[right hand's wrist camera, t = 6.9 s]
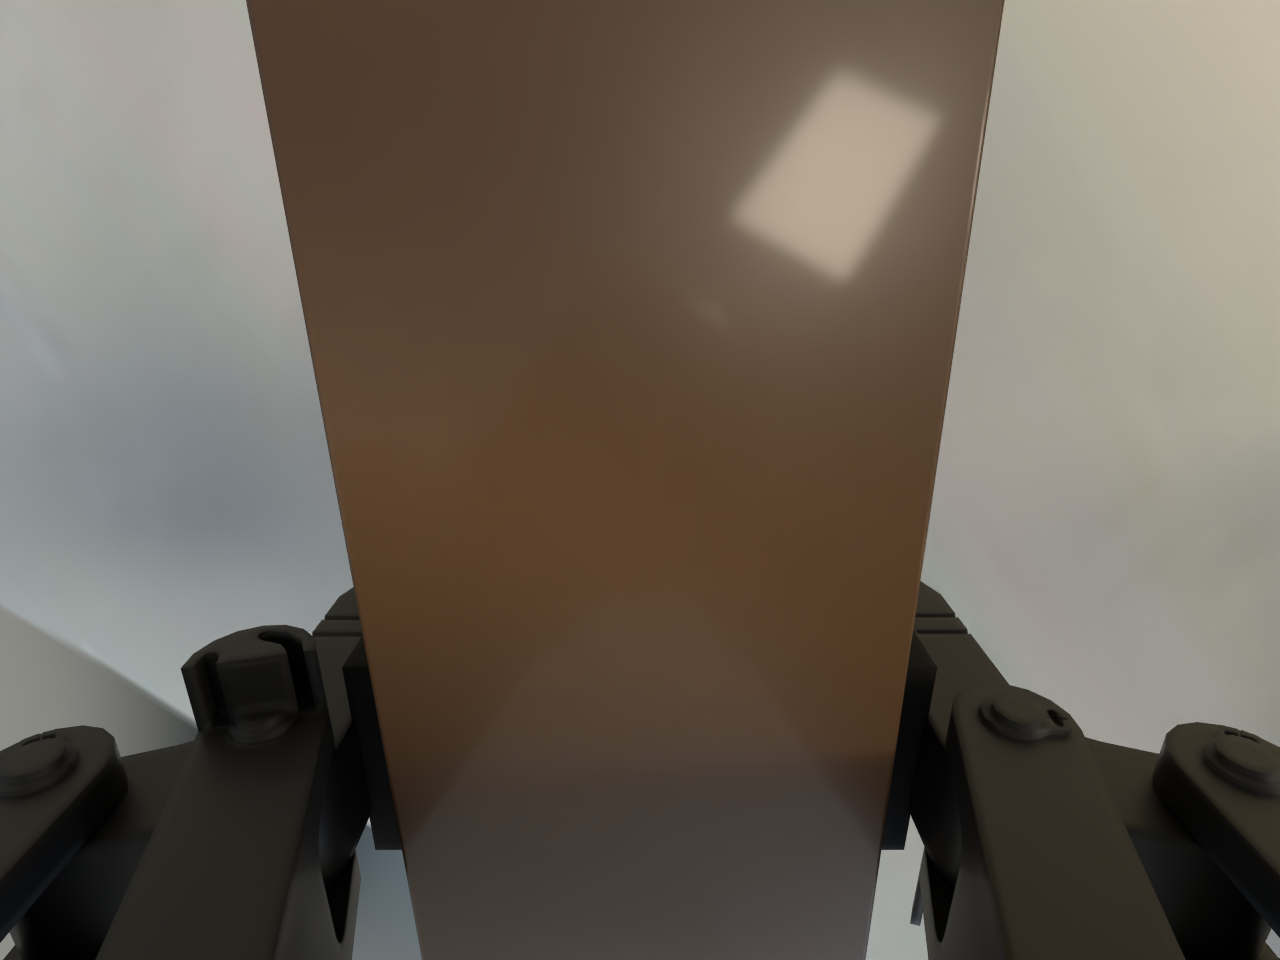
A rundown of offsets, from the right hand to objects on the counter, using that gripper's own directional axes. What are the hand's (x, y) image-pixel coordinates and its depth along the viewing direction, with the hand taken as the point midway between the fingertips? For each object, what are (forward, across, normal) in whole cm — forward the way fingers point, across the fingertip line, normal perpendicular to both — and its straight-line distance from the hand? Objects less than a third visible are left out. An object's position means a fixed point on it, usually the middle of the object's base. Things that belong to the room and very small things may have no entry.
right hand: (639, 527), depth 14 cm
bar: (+1, 0, -36) cm, 36 cm away
